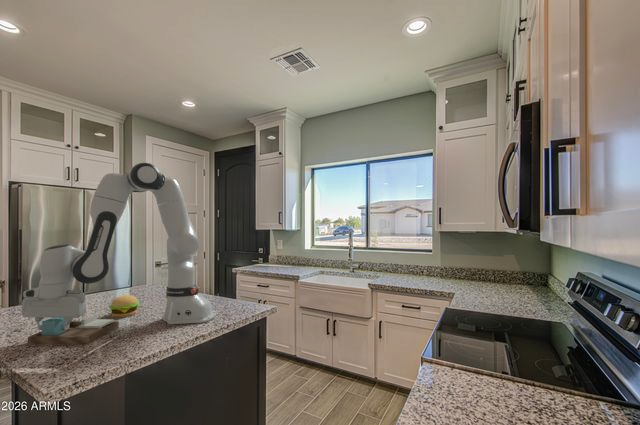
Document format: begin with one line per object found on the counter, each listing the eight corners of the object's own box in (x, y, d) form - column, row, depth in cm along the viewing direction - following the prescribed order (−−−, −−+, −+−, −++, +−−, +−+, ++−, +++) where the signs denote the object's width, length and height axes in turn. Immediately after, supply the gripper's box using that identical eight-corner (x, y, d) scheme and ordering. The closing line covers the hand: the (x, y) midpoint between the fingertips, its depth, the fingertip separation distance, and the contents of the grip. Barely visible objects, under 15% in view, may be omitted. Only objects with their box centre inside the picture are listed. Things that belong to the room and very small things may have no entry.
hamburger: (101, 317, 130) (102, 298, 130) (124, 309, 141) (124, 292, 142) (124, 319, 128) (125, 299, 128) (145, 311, 139) (146, 293, 140)
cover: (114, 321, 114) (114, 314, 114) (100, 328, 107) (100, 320, 107) (93, 321, 114) (94, 314, 114) (78, 328, 107) (78, 320, 107)
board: (118, 330, 115) (118, 321, 115) (86, 347, 99) (86, 337, 99) (67, 329, 114) (68, 321, 115) (27, 347, 98) (27, 336, 99)
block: (65, 336, 105) (66, 317, 105) (54, 342, 101) (55, 321, 101) (52, 336, 105) (53, 317, 105) (41, 341, 100) (42, 321, 101)
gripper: (91, 288, 107) (90, 326, 106) (35, 288, 106) (33, 326, 106) (77, 292, 100) (75, 333, 100) (18, 292, 100) (16, 332, 100)
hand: (53, 329), depth 103 cm, fingers open, 7 cm apart
